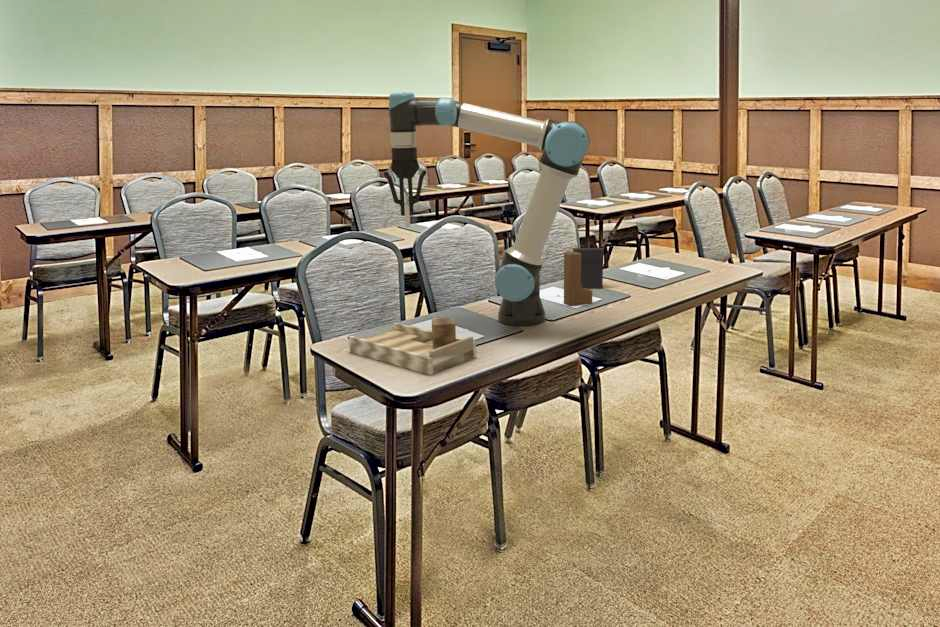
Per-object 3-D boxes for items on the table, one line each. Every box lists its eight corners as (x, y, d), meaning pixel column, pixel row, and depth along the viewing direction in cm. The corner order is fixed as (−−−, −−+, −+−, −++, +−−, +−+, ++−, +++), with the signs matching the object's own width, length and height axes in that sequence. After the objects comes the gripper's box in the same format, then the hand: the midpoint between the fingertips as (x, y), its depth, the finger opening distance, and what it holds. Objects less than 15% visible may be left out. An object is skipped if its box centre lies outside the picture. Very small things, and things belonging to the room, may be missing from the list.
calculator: (601, 286, 288) (602, 247, 284) (602, 289, 284) (603, 249, 280) (572, 286, 289) (572, 247, 285) (573, 289, 285) (573, 249, 281)
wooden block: (586, 300, 268) (587, 249, 264) (592, 303, 264) (593, 252, 260) (563, 303, 266) (563, 252, 261) (569, 306, 262) (569, 254, 257)
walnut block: (434, 353, 207) (433, 324, 205) (432, 346, 213) (431, 319, 211) (456, 351, 208) (455, 323, 206) (454, 345, 214) (453, 317, 212)
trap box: (349, 351, 218) (348, 331, 217) (396, 336, 232) (395, 317, 230) (430, 375, 198) (429, 353, 196) (476, 357, 211) (476, 336, 209)
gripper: (425, 145, 229) (429, 223, 235) (382, 146, 228) (386, 225, 234) (426, 146, 222) (429, 227, 228) (381, 148, 221) (385, 229, 227)
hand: (407, 226), depth 231 cm, fingers closed
